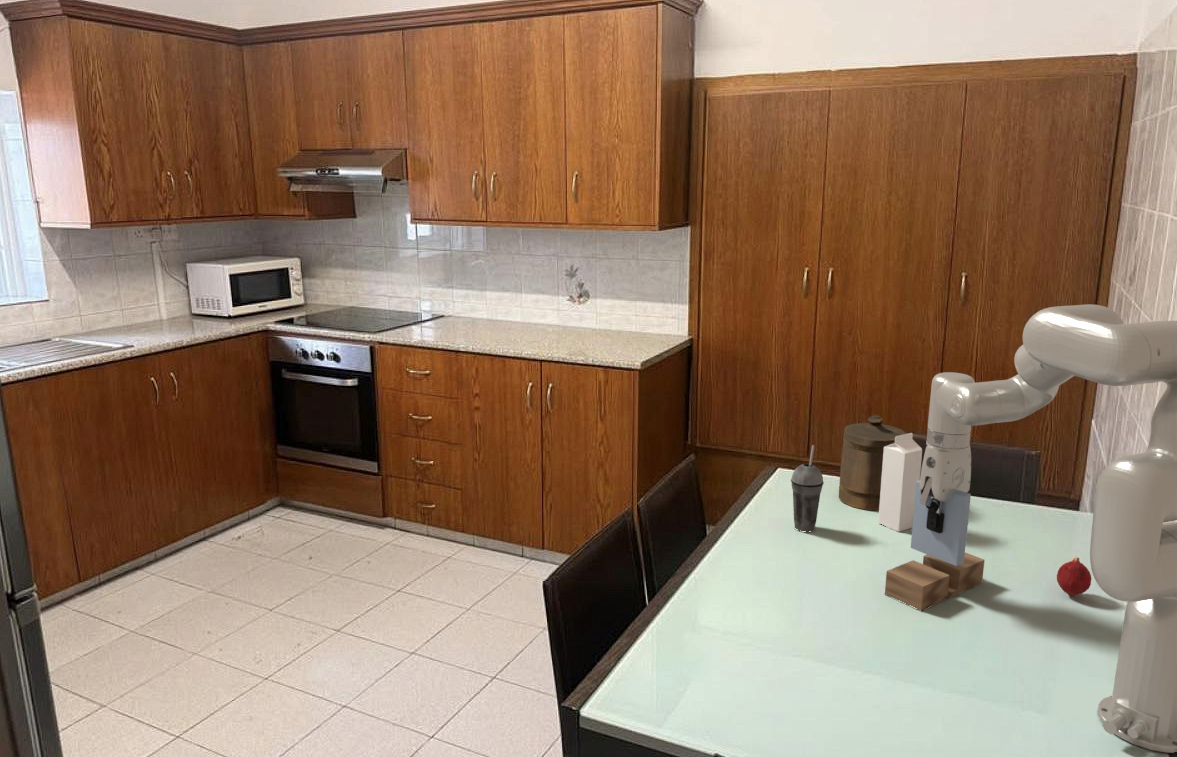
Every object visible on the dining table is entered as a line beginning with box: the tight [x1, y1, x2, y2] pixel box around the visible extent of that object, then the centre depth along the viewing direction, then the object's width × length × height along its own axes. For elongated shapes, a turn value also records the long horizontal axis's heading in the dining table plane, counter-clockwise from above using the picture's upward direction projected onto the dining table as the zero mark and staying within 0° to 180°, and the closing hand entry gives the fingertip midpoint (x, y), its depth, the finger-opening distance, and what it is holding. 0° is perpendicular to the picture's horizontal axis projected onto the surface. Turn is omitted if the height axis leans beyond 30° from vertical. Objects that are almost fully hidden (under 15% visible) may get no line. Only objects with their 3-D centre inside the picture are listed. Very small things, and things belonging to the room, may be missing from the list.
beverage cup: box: [790, 444, 825, 533], centre depth 195 cm, size 7×7×20 cm
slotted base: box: [884, 552, 985, 611], centre depth 168 cm, size 20×8×5 cm, turn 124°
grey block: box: [910, 480, 972, 566], centre depth 165 cm, size 2×10×14 cm, turn 35°
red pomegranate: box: [1056, 556, 1092, 597], centre depth 164 cm, size 6×6×8 cm
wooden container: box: [838, 414, 907, 512], centre depth 213 cm, size 15×15×22 cm
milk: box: [877, 432, 923, 533], centre depth 197 cm, size 6×6×22 cm
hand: (939, 528), depth 166 cm, fingers closed on grey block, 2 cm apart
